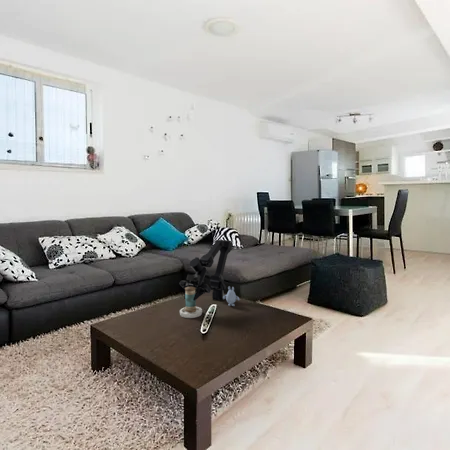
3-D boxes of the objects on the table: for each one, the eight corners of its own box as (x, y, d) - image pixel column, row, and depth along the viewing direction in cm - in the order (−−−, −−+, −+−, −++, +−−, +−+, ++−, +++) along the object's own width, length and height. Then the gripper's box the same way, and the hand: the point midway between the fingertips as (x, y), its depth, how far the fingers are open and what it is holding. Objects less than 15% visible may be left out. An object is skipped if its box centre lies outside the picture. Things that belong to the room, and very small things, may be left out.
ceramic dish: (203, 310, 203) (203, 306, 203) (199, 318, 191) (199, 314, 190) (183, 309, 205) (183, 306, 204) (177, 317, 193) (177, 313, 192)
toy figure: (241, 304, 211) (240, 285, 210) (238, 308, 206) (238, 288, 204) (224, 303, 215) (224, 284, 213) (221, 306, 209) (221, 287, 207)
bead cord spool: (195, 307, 201) (195, 286, 200) (197, 311, 195) (196, 289, 193) (184, 308, 200) (184, 286, 198) (185, 312, 194) (185, 290, 192)
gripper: (180, 267, 203) (169, 290, 195) (207, 270, 193) (196, 295, 185) (189, 276, 210) (178, 299, 202) (215, 280, 201) (205, 304, 193)
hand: (189, 299), depth 195 cm, fingers closed on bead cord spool, 6 cm apart
